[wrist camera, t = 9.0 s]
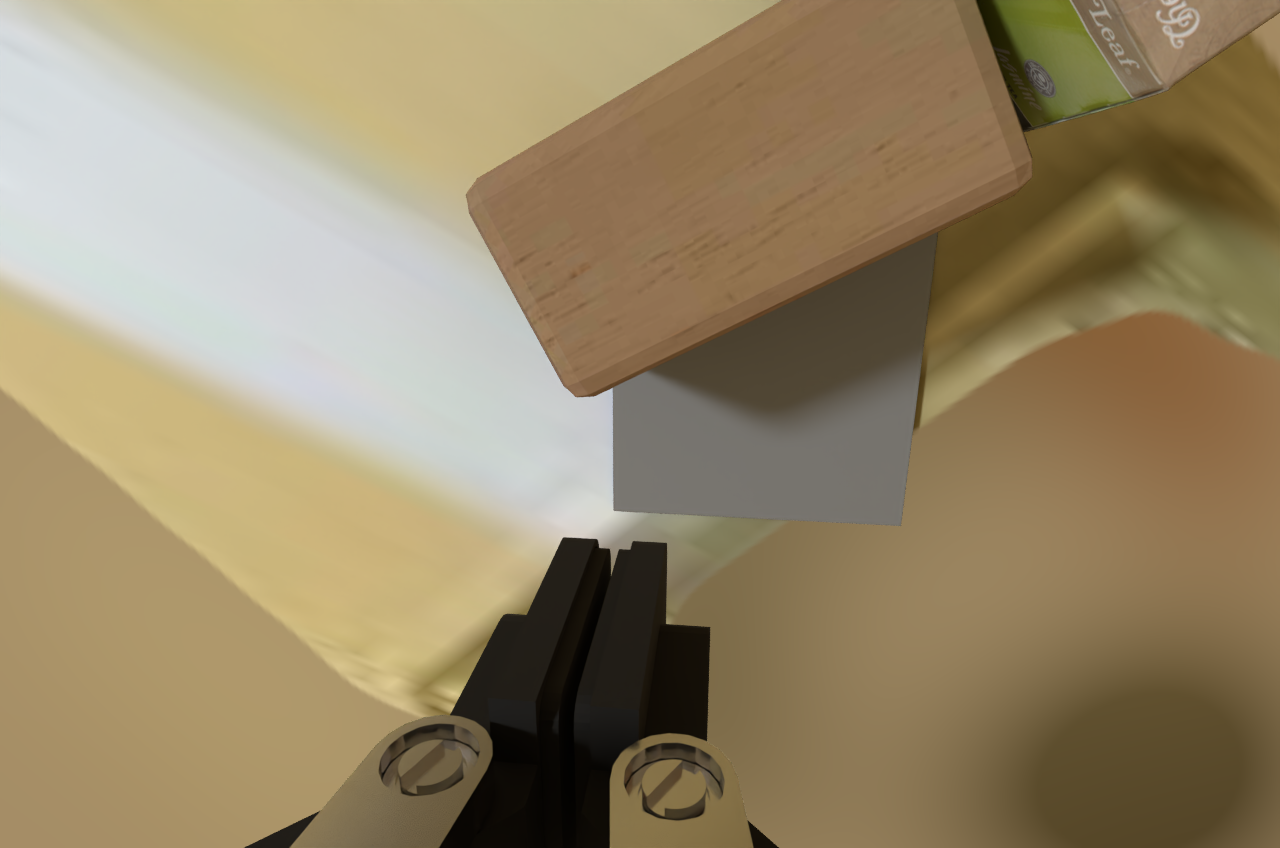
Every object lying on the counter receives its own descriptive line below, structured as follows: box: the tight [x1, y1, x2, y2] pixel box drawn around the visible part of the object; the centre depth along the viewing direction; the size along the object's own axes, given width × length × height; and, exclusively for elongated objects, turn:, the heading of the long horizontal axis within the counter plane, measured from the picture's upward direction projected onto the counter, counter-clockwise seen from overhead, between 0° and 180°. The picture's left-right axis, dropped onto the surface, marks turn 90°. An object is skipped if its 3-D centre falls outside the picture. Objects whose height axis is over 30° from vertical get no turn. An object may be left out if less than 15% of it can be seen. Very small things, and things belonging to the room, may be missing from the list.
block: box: [466, 0, 1032, 397], centre depth 32 cm, size 10×10×20 cm
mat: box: [613, 232, 938, 526], centre depth 39 cm, size 22×16×1 cm
